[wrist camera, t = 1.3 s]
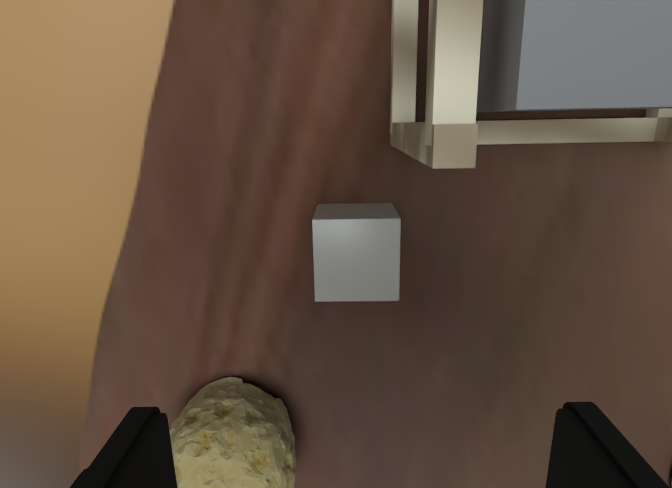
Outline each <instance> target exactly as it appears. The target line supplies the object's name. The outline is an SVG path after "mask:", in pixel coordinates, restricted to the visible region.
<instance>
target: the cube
mask: <svg viewBox="0 0 672 488" xmlns="http://www.w3.org/2000/svg"><path fill="white" fill-rule="evenodd" d="M312 227H313V257H314V286H315V302H328V301H399V278H400V231H401V218H400V216H399V215H398V213H397V211H396V209H395V207H394V206H393V204H392V203H344V204H317V207H316V210H315V213H314V216H313V219H312Z"/></svg>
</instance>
